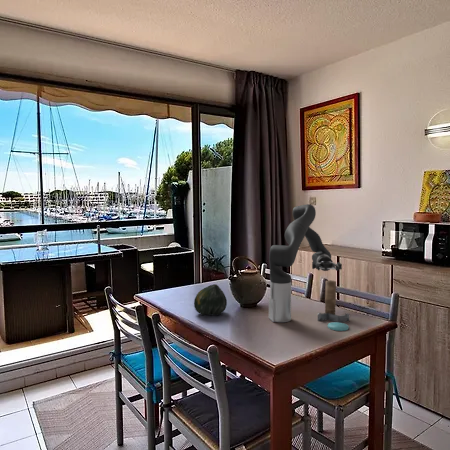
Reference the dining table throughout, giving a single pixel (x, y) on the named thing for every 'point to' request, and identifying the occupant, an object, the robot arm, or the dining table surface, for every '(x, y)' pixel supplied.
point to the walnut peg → (330, 297)
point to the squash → (210, 301)
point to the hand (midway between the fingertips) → (328, 268)
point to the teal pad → (338, 326)
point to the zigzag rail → (333, 317)
